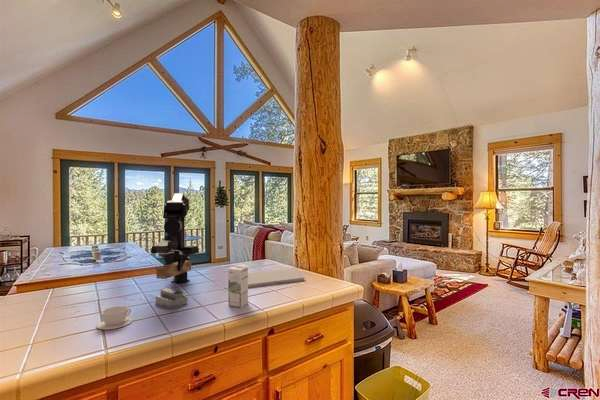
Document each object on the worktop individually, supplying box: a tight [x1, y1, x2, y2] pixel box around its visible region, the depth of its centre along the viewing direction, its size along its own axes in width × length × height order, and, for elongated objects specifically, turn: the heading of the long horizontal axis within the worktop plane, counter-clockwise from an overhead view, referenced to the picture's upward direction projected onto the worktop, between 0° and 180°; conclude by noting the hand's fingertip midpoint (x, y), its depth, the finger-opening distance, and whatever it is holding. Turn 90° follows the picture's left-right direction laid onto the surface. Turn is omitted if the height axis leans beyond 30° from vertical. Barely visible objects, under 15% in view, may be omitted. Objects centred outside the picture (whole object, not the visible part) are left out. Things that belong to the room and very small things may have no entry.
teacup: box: [96, 305, 133, 330], centre depth 98 cm, size 10×10×5 cm
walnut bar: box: [155, 260, 192, 280], centre depth 120 cm, size 16×4×4 cm, turn 166°
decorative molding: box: [248, 267, 305, 288], centre depth 147 cm, size 34×5×10 cm
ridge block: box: [155, 287, 188, 310], centre depth 116 cm, size 10×7×5 cm
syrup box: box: [227, 265, 249, 308], centre depth 115 cm, size 6×6×14 cm
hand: (174, 271), depth 120 cm, fingers closed on walnut bar, 4 cm apart
